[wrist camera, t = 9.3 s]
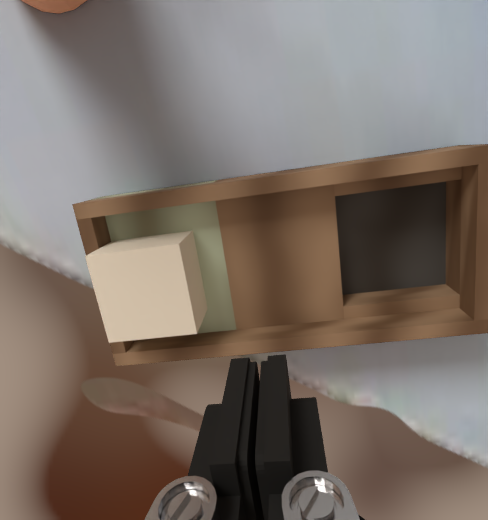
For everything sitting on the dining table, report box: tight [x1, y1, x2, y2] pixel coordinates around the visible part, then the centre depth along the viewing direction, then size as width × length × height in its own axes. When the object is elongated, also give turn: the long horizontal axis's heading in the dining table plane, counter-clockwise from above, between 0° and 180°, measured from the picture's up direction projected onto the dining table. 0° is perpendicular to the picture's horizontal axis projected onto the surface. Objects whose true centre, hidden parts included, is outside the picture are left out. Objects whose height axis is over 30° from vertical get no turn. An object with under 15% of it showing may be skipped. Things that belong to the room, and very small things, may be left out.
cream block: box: [85, 230, 208, 343], centre depth 25 cm, size 6×6×4 cm
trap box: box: [73, 144, 488, 366], centre depth 26 cm, size 26×12×4 cm, turn 98°
